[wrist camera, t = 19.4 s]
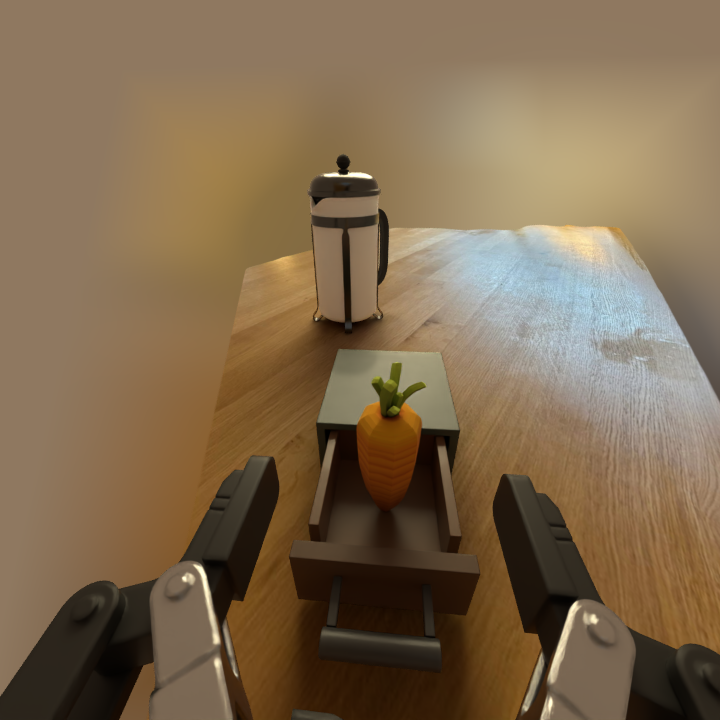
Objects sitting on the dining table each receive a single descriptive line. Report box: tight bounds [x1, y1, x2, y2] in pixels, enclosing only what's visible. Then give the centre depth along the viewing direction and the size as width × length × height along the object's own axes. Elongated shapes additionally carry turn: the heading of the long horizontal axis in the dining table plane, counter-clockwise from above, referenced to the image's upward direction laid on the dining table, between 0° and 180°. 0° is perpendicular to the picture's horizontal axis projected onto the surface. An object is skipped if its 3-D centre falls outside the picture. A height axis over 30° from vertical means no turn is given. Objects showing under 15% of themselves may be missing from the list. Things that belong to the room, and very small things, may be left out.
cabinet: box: [316, 349, 460, 474], centre depth 39 cm, size 15×14×8 cm
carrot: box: [357, 362, 427, 512], centre depth 26 cm, size 5×5×15 cm
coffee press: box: [308, 154, 389, 333], centre depth 64 cm, size 17×16×30 cm
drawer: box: [289, 429, 480, 673], centre depth 27 cm, size 18×12×6 cm
